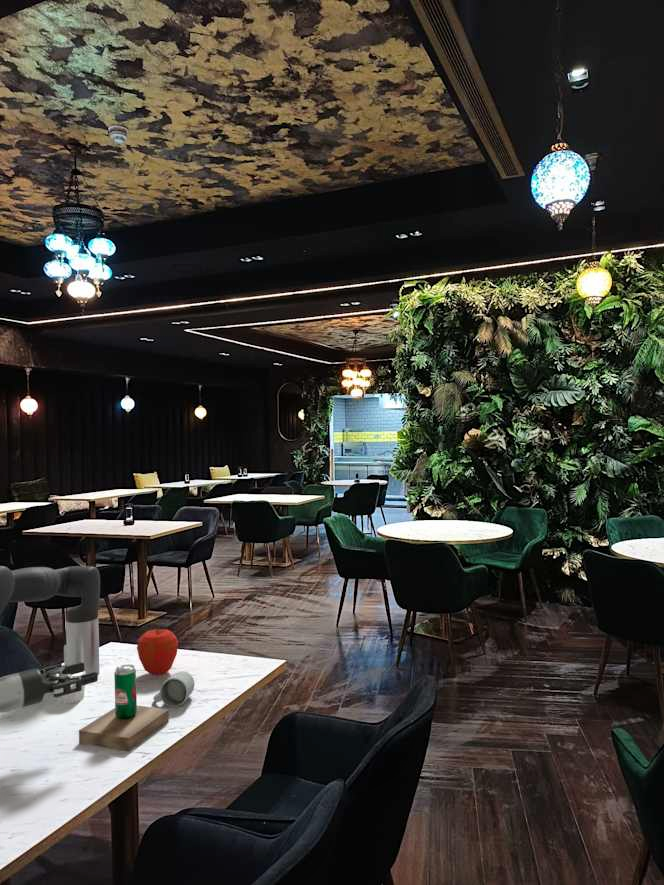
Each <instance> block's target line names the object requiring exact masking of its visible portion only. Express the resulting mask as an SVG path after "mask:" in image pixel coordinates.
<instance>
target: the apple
mask: <svg viewBox="0 0 664 885" xmlns="http://www.w3.org/2000/svg"><path fill="white" fill-rule="evenodd" d="M178 646H179V642H178V638H177V636H176V635H175V634H174V633H173V631H171V630H169V629H159V628H158V627H157V629H151V630H147V631H146V632H144V633H143V634H142V635H141V636H140V637H139V639H138V643H137V646H136V650H137V655H138V660H139V661H140V663H141V665H142V667H143V669H144V671H146V672H147V673H149V674H150V675H152V676H162V675H167V673H168V672H169V671H170V670H171V669H172V667H173V665H174V662H175V659H176V657H177V653H178V649H179V648H178Z"/></svg>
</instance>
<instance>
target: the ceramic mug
mask: <svg viewBox="0 0 664 885" xmlns="http://www.w3.org/2000/svg"><path fill="white" fill-rule="evenodd" d="M194 689H195V680H194V677H193V676H192V674H190V673H189V672H187V671H178V672H175V673H173V674H172V675H171V676H170V677H168V678H167V679H166V680H165V681H164V682H163V683H162V684H161V686H160V689H159V692H158V693H156V694H155V695H154V696H153V697H152V699H153V701H154V703H157V704H158V703H160V702H163V703H164V704H165V706H167V707H170V708H178V707H181V706H183V704H184V703H185V702H186V701H187V700H188V698H189V697H190V696H191V695H192V693H193V692H194Z"/></svg>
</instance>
